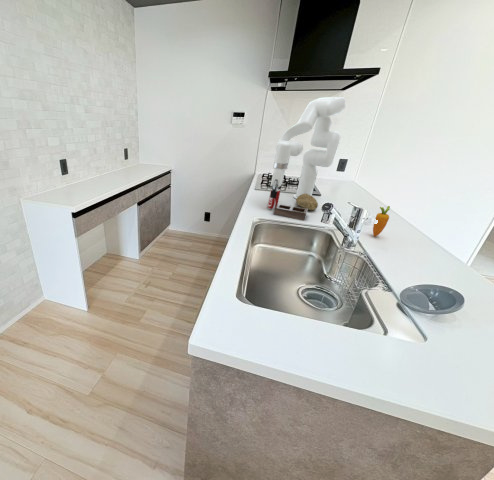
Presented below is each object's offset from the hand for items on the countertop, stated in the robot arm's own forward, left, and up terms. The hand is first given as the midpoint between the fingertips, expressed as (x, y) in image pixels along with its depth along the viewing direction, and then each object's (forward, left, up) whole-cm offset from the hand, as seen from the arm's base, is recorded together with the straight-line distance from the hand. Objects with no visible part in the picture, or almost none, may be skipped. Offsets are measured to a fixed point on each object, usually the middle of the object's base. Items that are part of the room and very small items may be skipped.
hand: (274, 195), depth 151 cm
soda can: (0, 0, -8) cm, 8 cm away
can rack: (+6, +11, -8) cm, 15 cm away
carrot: (+14, +50, -8) cm, 53 cm away
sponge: (-15, +17, -8) cm, 24 cm away
